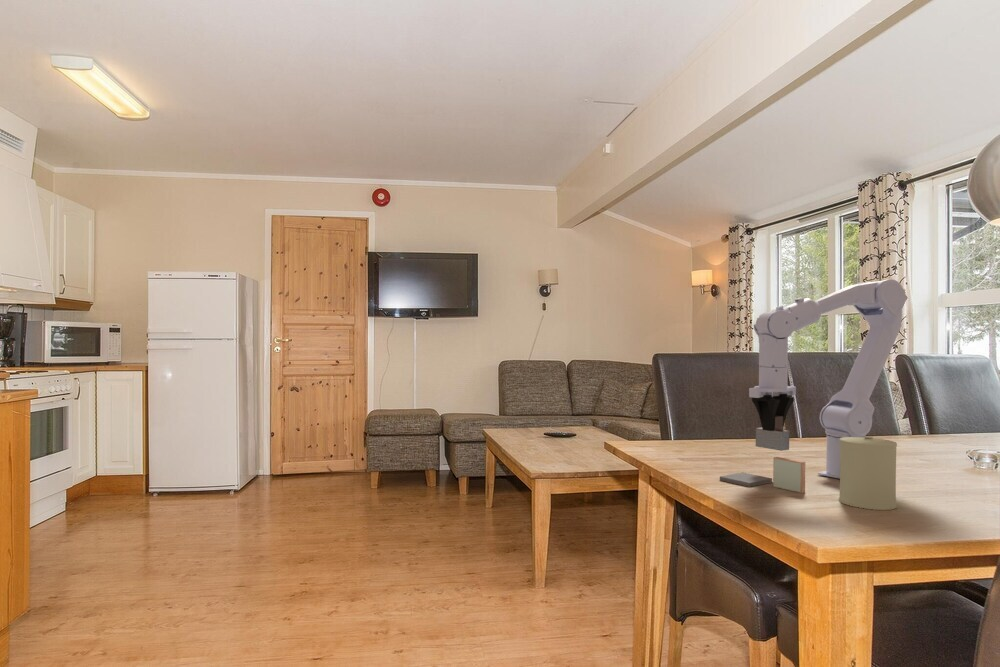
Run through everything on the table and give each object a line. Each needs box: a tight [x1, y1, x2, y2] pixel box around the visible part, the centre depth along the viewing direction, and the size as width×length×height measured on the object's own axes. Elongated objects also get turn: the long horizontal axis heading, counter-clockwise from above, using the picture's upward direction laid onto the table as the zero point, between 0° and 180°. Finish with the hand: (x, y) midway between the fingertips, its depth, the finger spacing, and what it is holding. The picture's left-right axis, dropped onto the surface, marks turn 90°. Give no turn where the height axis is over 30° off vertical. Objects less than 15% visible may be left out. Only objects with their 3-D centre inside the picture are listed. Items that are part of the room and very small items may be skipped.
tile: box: [772, 456, 806, 494], centre depth 126 cm, size 1×6×6 cm, turn 35°
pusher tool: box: [755, 415, 790, 452], centre depth 136 cm, size 3×6×7 cm, turn 35°
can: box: [838, 436, 898, 511], centre depth 116 cm, size 9×9×12 cm
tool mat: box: [719, 471, 773, 488], centre depth 132 cm, size 8×7×1 cm
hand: (772, 429), depth 136 cm, fingers closed on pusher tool, 3 cm apart
